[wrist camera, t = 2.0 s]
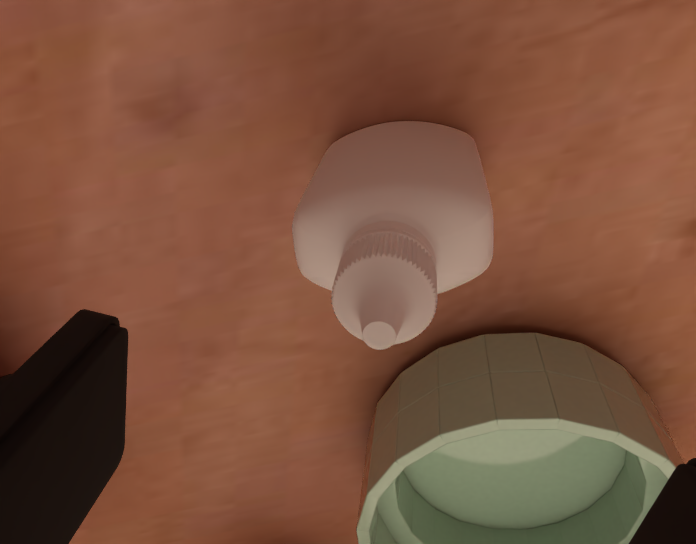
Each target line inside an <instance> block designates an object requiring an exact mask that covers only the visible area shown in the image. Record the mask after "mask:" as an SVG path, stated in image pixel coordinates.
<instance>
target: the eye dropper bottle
mask: <svg viewBox="0 0 696 544" xmlns="http://www.w3.org/2000/svg"><path fill="white" fill-rule="evenodd" d="M292 234H293V242H294V249H295V255H296V260H297V264H298V268H299V269H300V271H301V273H302V275H303V276H305V277H306V278H307V279H308V280H310V281H311V282H313V283H315V284H317V285H319V286H321V287H324V288H326V289H328V290H331V291H332V293H331V295H332V297H331V300H332V303H331V304H332V305H333V309H334V313H335V314H336V315H337V316H336V318H337V319H339V322H340V323H341V324H342V326H343V327H345V329H346V330H347V331H349V333H351V334H353V336H355V337H357V338H358V339H361V340H362V341H364V342H365V343H366V344H367V345H368V346H369V347H371V348H373V349H377V350H383V349H387V348H389V347H391V346H392V345H395V344H400V343H405V341H410V339H414V337H416V336H418V334H420V333H422V331H423V330H425V329H426V327H427V326H429V323H430V322H432V318H433V317H434V314H435V313H436V308H437V294H439V293H442V292H445V291H448V290H450V289H453V288H455V287H458V286H460V285H462V284H464V283H467V282H469V281H471V280H472V279H474V278H476V277H477V276H479V275H481V274H482V273H483V272H484V271H485V270H486V269H487V268H488V267H489V266H490V263H491V260H492V258H493V240H494V226H493V209H492V204H491V199H490V195H489V191H488V187H487V183H486V179H485V175H484V171H483V168H482V164H481V160H480V156H479V153H478V149H477V146H476V143H475V140H474V139H473V138H472V137H471V136H470V135H469V134H467V133H465V132H463V131H461V130H458V129H455V128H452V127H449V126H445V125H441V124H435V123H430V122H421V121H396V122H388V123H382V124H378V125H373V126H370V127H366V128H363V129H361V130H358V131H355V132H353V133H350V134H348V135H346V136H344V137H342V138H340V139H339V140H337V141H335V142H334V143H332V145H331V146H330V147H329V148H328V149H327V151H326V152H325V154H324V156H323V158H322V160H321V162H320V163H319V165H318V167H317V169H316V171H315V173H314V174H313V176H312V178H311V180H310V182H309V184H308V186H307V188H306V190H305V192H304V194H303V195H302V197H301V199H300V202H299V204H298V206H297V208H296V210H295V213H294V218H293V223H292Z"/></svg>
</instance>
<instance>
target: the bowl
mask: <svg viewBox="0 0 696 544" xmlns="http://www.w3.org/2000/svg"><path fill="white" fill-rule="evenodd" d="M680 464H684V462H683V460H682V458H681V456H680V454H679V452H678V450H677V448H676V447H675V445H674V443H673V441H672V439H671V437H670V435H669V433H668V431H667V429H666V427H665V425H664V423H663V421H662V419H661V417H660V415H659V413H658V411H657V410H656V408H655V406H654V404H653V402H652V400H651V398H650V396H649V395H648V394H647V393H646V392H645V391H644V389H643V388H642V387H641V386H640V385H639V384H638V383H637V381H636V380H635V379H634V378H633V377H632V376H631V374H630V373H629V372H628V371H627V370H626V369H625V368H624V367H623V366H622V365H620V364H618V363H616V362H615V361H613V360H611V359H609V358H608V357H606V356H604V355H602V354H601V353H599V352H597V351H595V350H594V349H592V348H590V347H588V346H586V345H585V344H583V343H579V342H575V341H571V340H566V339H562V338H557V337H553V336H549V335H544V334H540V333H533V332H531V333H504V334H485V335H479V336H476V337H473V338H470V339H466V340H463V341H460V342H457V343H453V344H450V345H447V346H444V347H440V348H438V349H436V350H434V351H433V352H431V353H430V354H428V355H427V356H425V357H424V358H422V359H421V360H419V361H418V362H416V363H415V364H413V365H412V366H410V367H409V368H407V369H406V370H404V371H403V372H402V373H400V374H399V376H398V377H397V378H396V380H395V381H394V382H393V384H392V385H391V386H390V387H389V389H388V390H387V391H386V393H385V394H384V395H383V397H382V398H381V399H380V400H379V402H378V404H377V406H376V409H375V413H374V417H373V420H372V424H371V427H370V431H369V434H368V441H367V449H366V457H365V465H364V473H363V481H362V489H361V497H360V504H359V512H358V520H357V529H356V531H357V537H358V543H359V544H629V542H630V541H631V539H632V537H633V536H634V534H635V533H636V531H637V529H638V528H639V526H640V524H641V523H642V521H643V520H644V518H645V516H646V515H647V513H648V512H649V510H650V508H651V507H652V505H653V504H654V502H655V500H656V499H657V497H658V495H659V494H660V492H661V491H662V489H663V487H664V486H665V484H666V483H667V481H668V479H669V478H670V476H671V475H672V473H673V471H674V470H675V468H676V467H677V466H678V465H680Z"/></svg>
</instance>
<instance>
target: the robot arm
mask: <svg viewBox="0 0 696 544" xmlns="http://www.w3.org/2000/svg"><path fill="white" fill-rule="evenodd" d="M127 356H128V331H127V329H126V328H122V327H120V324H119V320H118V318H116V317H114V316H110V315H106V314H102V313H98V312H93V311H89V310H85V309H84V310H80V311H79V312H77V313H76V314H75V315H74V316H73V317H72V318H71V319H70V320H69V321H68V322H67V323H66V324H65V325H64V326H63V327H62V328H60V329H59V330H58V331H57V332H56V333H55V334H54V335H53V336H52V337H51V338H50V339H49V340H48V341H47V342H46V343H45V344H44V345H43V346H42V347H41V348H40V349H39V350H38V351H36V352H35V353H34V354H33V355H32V356H31V357H30V358H29V359H28V360H27V361H26V362H25V363H24V364H23V365H22V366H21V367H20V368H19V369H18V370H17V371H16V372H15V373H14V374H9V375H6V376H3V377H1V378H0V544H69V542H70V540H71V539H72V537H73V536H74V534H75V533H76V531H77V529H78V528H79V526H80V525H81V523H82V522H83V520H84V518H85V517H86V515H87V514H88V512H89V511H90V509H91V508H92V506H93V504H94V503H95V501H96V500H97V498H98V497H99V495H100V493H101V492H102V490H103V489H104V487H105V486H106V484H107V482H108V481H109V479H110V478H111V476H112V475H113V473H114V471H115V470H116V468H117V467H118V465H119V463H120V460H121V458H122V455H123V451H124V444H125V415H126V385H127ZM629 544H696V458H693V459H691V460H689V461H688V463H687V464H680V465H678V466H677V467H676V468H675V470H674V471H673V473H672V475H671V476H670V478H669V479H668V481H667V483H666V484H665V486H664V487H663V489H662V491H661V492H660V494H659V495H658V497H657V499H656V500H655V502H654V504H653V505H652V507H651V508H650V510H649V512H648V513H647V515H646V516H645V518H644V520H643V521H642V523H641V524H640V526H639V528H638V529H637V531H636V533H635V534H634V536H633V537H632V539H631V541H630V542H629Z"/></svg>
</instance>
